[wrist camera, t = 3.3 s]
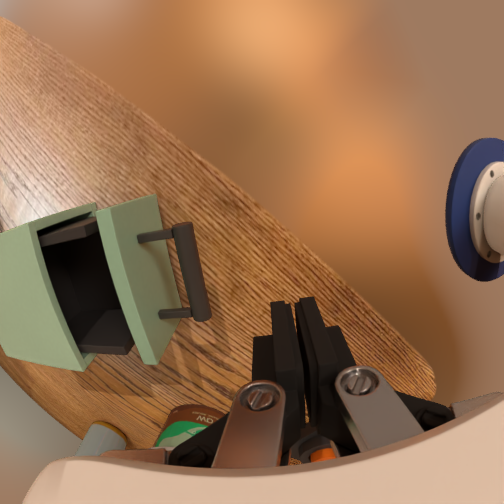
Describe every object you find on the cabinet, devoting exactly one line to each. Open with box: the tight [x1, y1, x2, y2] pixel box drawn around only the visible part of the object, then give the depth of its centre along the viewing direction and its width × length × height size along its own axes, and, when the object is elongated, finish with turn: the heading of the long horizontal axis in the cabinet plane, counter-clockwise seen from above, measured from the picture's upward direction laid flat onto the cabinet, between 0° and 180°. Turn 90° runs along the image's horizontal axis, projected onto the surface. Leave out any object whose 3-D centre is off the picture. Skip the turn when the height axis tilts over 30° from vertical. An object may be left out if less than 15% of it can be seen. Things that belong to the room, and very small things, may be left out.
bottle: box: [75, 421, 127, 456], centre depth 28 cm, size 7×7×15 cm
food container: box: [149, 404, 225, 451], centre depth 26 cm, size 12×6×10 cm, turn 72°
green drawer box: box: [0, 202, 98, 372], centre depth 21 cm, size 14×13×10 cm
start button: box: [310, 448, 336, 463], centre depth 27 cm, size 4×4×2 cm
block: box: [291, 422, 332, 464], centre depth 30 cm, size 10×8×4 cm
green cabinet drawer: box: [37, 194, 212, 365], centre depth 20 cm, size 17×11×8 cm
